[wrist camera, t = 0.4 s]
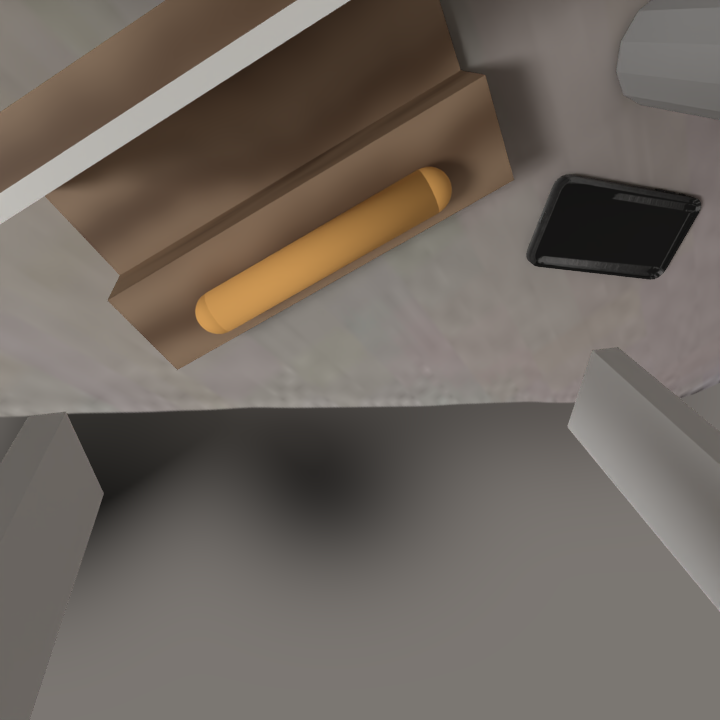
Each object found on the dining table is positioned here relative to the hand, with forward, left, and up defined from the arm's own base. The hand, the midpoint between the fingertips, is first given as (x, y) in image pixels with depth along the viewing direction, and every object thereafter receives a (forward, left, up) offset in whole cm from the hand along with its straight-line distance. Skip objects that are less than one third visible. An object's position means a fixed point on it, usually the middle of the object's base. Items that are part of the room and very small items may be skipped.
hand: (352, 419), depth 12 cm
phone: (+19, +23, -28) cm, 40 cm away
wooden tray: (-2, 0, -27) cm, 27 cm away
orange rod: (+4, 0, -22) cm, 22 cm away
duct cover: (-7, 0, -16) cm, 18 cm away
